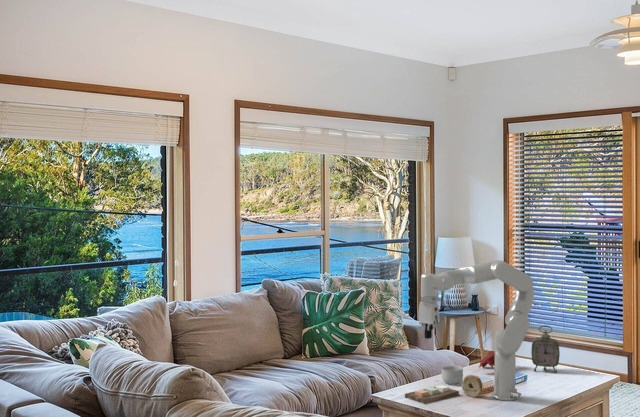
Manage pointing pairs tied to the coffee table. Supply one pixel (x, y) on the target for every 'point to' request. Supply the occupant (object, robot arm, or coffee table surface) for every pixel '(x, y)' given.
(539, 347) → the tabletop clock
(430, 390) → the tile sage
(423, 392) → the tile terracotta
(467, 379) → the bagel
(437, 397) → the brown tile tray
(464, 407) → the coffee table surface
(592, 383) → the coffee table surface
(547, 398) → the coffee table surface
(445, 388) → the tile cream
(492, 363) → the decorative bird sculpture
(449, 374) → the teacup
